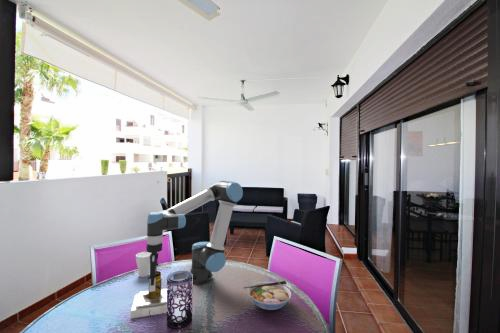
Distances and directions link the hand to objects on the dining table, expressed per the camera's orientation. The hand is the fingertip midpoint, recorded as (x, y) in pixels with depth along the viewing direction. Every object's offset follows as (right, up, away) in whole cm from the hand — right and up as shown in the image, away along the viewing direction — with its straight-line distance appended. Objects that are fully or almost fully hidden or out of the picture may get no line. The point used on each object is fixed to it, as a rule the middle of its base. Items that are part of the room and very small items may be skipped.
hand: (153, 284), depth 124 cm
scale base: (0, -11, 0) cm, 11 cm away
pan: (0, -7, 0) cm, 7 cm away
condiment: (0, -6, 0) cm, 6 cm away
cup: (-20, -11, +35) cm, 42 cm away
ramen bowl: (+59, -13, +3) cm, 61 cm away
